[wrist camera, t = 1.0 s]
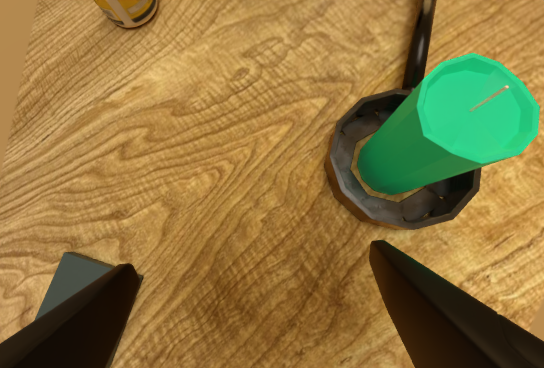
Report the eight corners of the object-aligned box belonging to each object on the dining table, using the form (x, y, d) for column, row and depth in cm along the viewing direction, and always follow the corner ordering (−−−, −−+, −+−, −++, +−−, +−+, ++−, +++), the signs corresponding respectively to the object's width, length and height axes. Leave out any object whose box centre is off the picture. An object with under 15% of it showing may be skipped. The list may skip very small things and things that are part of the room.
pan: (446, 243, 20) (473, 245, 17) (313, 208, 21) (317, 205, 18) (478, -10, 25) (503, -42, 22) (368, -24, 26) (379, -56, 23)
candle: (355, 135, 22) (429, 32, 11) (418, 135, 22) (566, 28, 10) (358, 194, 21) (443, 150, 10) (424, 196, 21) (598, 152, 9)
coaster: (143, 276, 21) (138, 277, 20) (109, 368, 20) (102, 373, 19) (71, 251, 22) (64, 252, 21) (34, 337, 21) (24, 341, 20)
